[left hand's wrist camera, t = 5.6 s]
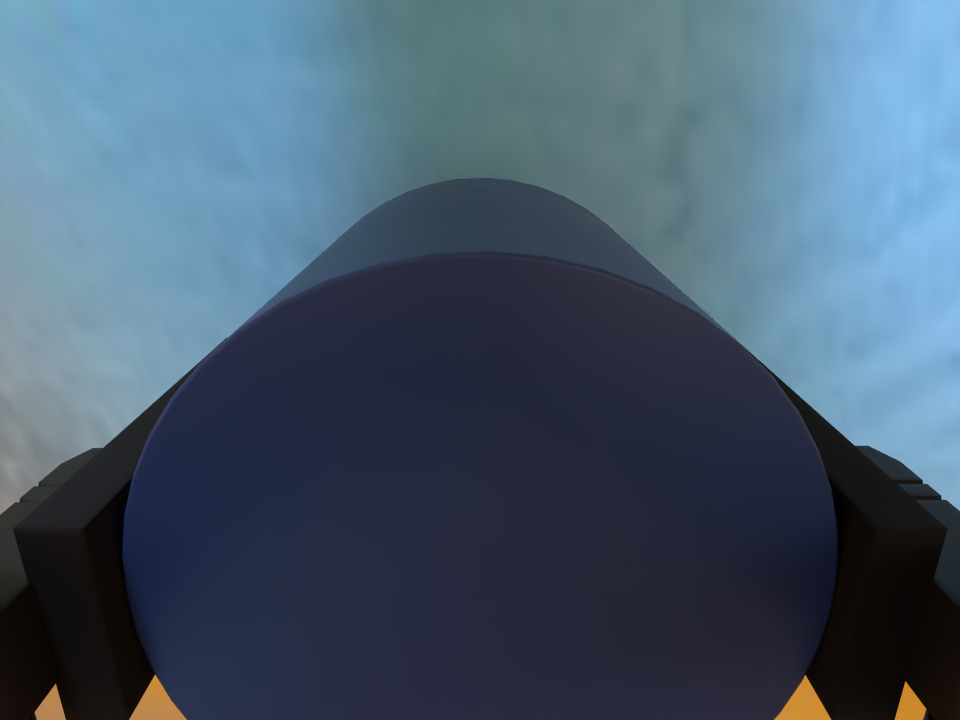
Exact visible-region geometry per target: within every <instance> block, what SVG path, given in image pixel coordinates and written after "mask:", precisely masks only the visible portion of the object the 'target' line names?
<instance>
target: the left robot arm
mask: <svg viewBox="0 0 960 720" xmlns="http://www.w3.org/2000/svg"><path fill="white" fill-rule="evenodd" d="M226 339H227V338H226ZM226 339H225V340H226ZM225 340H224V341H225ZM224 341H223V342H224ZM223 342H222V343H223ZM222 343H220V344H222ZM220 344H219V345H220ZM219 345H218V346H219ZM218 346H217V347H218ZM217 347H216V348H217ZM216 348H215V349H216ZM744 348H745V347H744ZM215 349H214V350H215ZM745 349H746V348H745ZM214 350H213V351H214ZM746 350H747V349H746ZM213 351H211V352H210V353H212V352H213ZM747 351H748V350H747ZM748 352H749V351H748ZM210 353H209V354H210ZM749 353H750V352H749ZM209 354H208V355H209ZM750 354H751V353H750ZM208 355H207V356H208ZM751 355H752V354H751ZM207 356H206V357H207ZM752 356H753V357H754V358H755V359H756V360H757V361H758V362H759V363H760V364H761V365H762V366H763V367H764V368H765V369H766V370H767V371H768V372H769V373H770V374H771V375H772V376H773V378H774V379H775V380H776V382H777V383H778V384H779V386H780V387H781V388H782V390H783V391H784V393H785V394H786V395H787V397H788V398H789V399H790V401H791V402H792V403H793V405H794V406H795V408H796V409H797V410H798V412H799V413H800V415H801V417H802V419H803V421H804V423H805V425H806V427H807V429H808V431H809V433H810V435H811V437H812V439H813V441H814V442H815V444H816V446H817V448H818V450H819V453H820V456H821V459H822V462H823V465H824V468H825V471H826V474H827V478H828V481H829V484H830V487H831V490H832V495H833V502H834V509H835V515H836V522H837V528H838V574H837V580H836V585H835V591H834V597H833V603H832V609H831V613H830V616H829V619H828V622H827V625H826V628H825V631H824V634H823V637H822V640H821V643H820V646H819V648H818V650H817V652H816V654H815V656H814V658H813V660H812V662H811V664H810V666H809V668H808V670H807V672H806V674H805V675H806V676H807V678H808V680H809V681H810V683H811V685H812V687H813V688H814V690H815V692H816V694H817V695H818V697H819V699H820V701H821V702H822V704H823V706H824V707H825V709H826V711H827V713H828V714H829V716H830V718H831V720H895V716H896V712H897V709H898V705H899V702H900V698H901V695H902V691H903V687H904V684H905V681H906V682H907V683H908V685H909V686H910V687H911V689H912V690H913V691H914V693H915V694H916V695H917V697H918V698H919V699H920V701H921V702H922V703H923V705H924V706H925V708H926V712H925V716H924V719H923V720H960V511H959V510H958V509H956V508H955V507H954V506H953V505H952V504H950V503H949V502H948V501H947V500H942V499H941V495H940V494H938V493H937V492H936V491H935V490H934V489H932V488H931V487H930V486H929V485H928V484H923V482H922V481H923V480H922V479H920V478H919V477H918V476H917V475H916V474H914V473H913V472H912V471H911V470H910V469H908V468H907V467H906V466H905V465H904V464H902V463H901V462H900V461H898V460H896V459H894V458H892V457H890V456H888V455H886V454H884V453H882V452H880V451H878V450H876V449H873V448H871V447H869V446H854V445H853V444H852V443H851V442H850V441H849V440H848V439H847V438H845V437H844V436H843V435H842V434H841V433H840V432H839V431H838V430H836V429H835V428H834V427H833V426H832V425H831V424H830V423H829V422H827V421H826V420H825V419H824V418H823V417H822V416H821V415H820V414H819V413H817V412H816V411H815V410H814V409H813V408H812V407H811V406H810V405H808V404H807V403H806V402H805V401H804V400H803V399H802V398H801V397H799V396H798V395H797V394H796V393H795V392H794V391H793V390H792V389H790V388H789V387H788V386H787V385H786V384H785V383H784V382H783V381H782V380H780V379H779V378H778V377H777V376H776V375H775V374H774V373H773V372H771V371H770V370H769V369H768V368H767V367H766V366H765V365H764V364H762V363H761V362H760V361H759V360H758V359H757V358H756V357H755V356H754V355H752ZM206 357H205V358H206ZM205 358H204V359H205ZM204 359H202V360H201V361H200V362H199V363H198V364H197V365H196V366H195V367H194V368H192V369H191V370H190V371H189V372H188V373H187V374H186V375H185V376H183V377H182V378H181V379H180V380H179V381H178V382H177V383H176V384H174V385H173V386H172V387H171V388H170V389H169V390H168V391H167V392H166V393H164V394H163V395H162V396H161V397H160V398H159V399H158V400H157V401H155V402H154V403H153V404H152V405H151V406H150V407H149V408H148V409H146V410H145V411H144V412H143V413H142V414H141V415H140V416H139V417H138V418H136V419H135V420H134V421H133V422H132V423H131V424H130V425H129V426H127V427H126V428H125V429H124V430H123V431H122V432H121V433H120V434H118V435H117V436H116V437H115V438H114V439H113V440H112V441H111V442H110V443H108V444H107V445H106V446H105V447H104V448H92V449H90V450H88V451H86V452H84V453H82V454H80V455H78V456H76V457H74V458H72V459H70V460H68V461H66V462H64V463H62V464H60V465H59V466H58V467H57V468H56V469H54V470H53V471H52V472H51V473H50V474H49V475H47V476H46V477H45V478H44V479H43V480H41V481H40V482H39V486H38V487H33V488H32V489H31V490H29V491H28V492H27V493H26V494H25V495H24V496H22V497H21V498H20V502H19V503H14V504H13V505H12V506H10V507H9V508H8V509H7V510H6V511H4V512H3V513H2V514H1V515H0V720H37V719H36V716H35V711H36V709H37V708H38V707H39V705H40V704H41V703H42V701H43V700H44V698H45V697H46V696H47V695H48V693H49V692H50V690H51V689H52V688H53V686H54V685H55V684H56V685H57V689H58V693H59V696H60V700H61V703H62V707H63V711H64V714H65V718H66V720H129V719H130V717H131V715H132V713H133V712H134V710H135V708H136V707H137V705H138V703H139V701H140V700H141V698H142V696H143V694H144V693H145V691H146V689H147V687H148V686H149V684H150V682H151V681H152V679H153V677H154V675H155V673H154V671H153V670H152V668H151V666H150V663H149V661H148V659H147V657H146V654H145V652H144V650H143V647H142V645H141V643H140V640H139V638H138V636H137V633H136V630H135V626H134V623H133V619H132V615H131V612H130V608H129V604H128V600H127V597H126V589H125V579H124V570H123V561H122V550H123V531H124V515H125V510H126V506H127V501H128V497H129V492H130V487H131V483H132V478H133V474H134V472H135V469H136V467H137V464H138V462H139V459H140V457H141V454H142V452H143V449H144V447H145V444H146V442H147V439H148V436H149V434H150V433H151V431H152V429H153V428H154V426H155V424H156V423H157V421H158V419H159V418H160V416H161V414H162V413H163V411H164V409H165V408H166V406H167V404H168V403H169V401H170V399H171V398H172V396H173V395H174V394H175V393H176V392H177V390H178V389H179V388H180V387H181V386H182V384H183V383H184V382H185V381H186V380H187V378H188V377H189V376H190V375H191V374H192V372H193V371H194V370H195V369H196V368H197V366H198V365H199V364H200V363H201V362H202V361H203V360H204Z"/></svg>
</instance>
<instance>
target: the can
mask: <svg viewBox="0 0 960 720" xmlns="http://www.w3.org/2000/svg"><path fill="white" fill-rule="evenodd" d="M122 561H123V570H124V579H125V589H126V597H127V600H128V604H129V608H130V612H131V615H132V619H133V623H134V626H135V630H136V633H137V636H138V638H139V640H140V643H141V645H142V647H143V650H144V652H145V654H146V657H147V659H148V661H149V663H150V666H151V668H152V670H153V671H154V673H155V675H156V676H157V678H158V679H159V681H160V683H161V684H162V686H163V688H164V689H165V691H166V692H167V694H168V696H169V697H170V699H171V701H172V702H173V703H174V704H175V705H176V707H177V708H178V709H179V710H180V712H181V713H182V714H183V715H184V717H185V718H186V719H187V720H774V719H775V718H776V717H777V716H778V715H779V713H780V712H781V711H782V709H783V708H784V706H785V705H786V704H787V702H788V701H789V699H790V698H791V696H792V695H793V693H794V692H795V690H796V689H797V688H798V686H799V685H800V683H801V682H802V680H803V678H804V676H805V674H806V672H807V670H808V668H809V666H810V664H811V662H812V660H813V658H814V656H815V654H816V652H817V650H818V648H819V646H820V643H821V640H822V637H823V634H824V631H825V628H826V625H827V622H828V619H829V616H830V613H831V609H832V603H833V597H834V591H835V585H836V580H837V574H838V528H837V522H836V515H835V509H834V502H833V495H832V490H831V487H830V484H829V481H828V478H827V474H826V471H825V468H824V465H823V462H822V459H821V456H820V453H819V450H818V448H817V446H816V444H815V442H814V441H813V439H812V437H811V435H810V433H809V431H808V429H807V427H806V425H805V423H804V421H803V419H802V417H801V415H800V413H799V412H798V410H797V409H796V408H795V406H794V405H793V403H792V402H791V401H790V399H789V398H788V397H787V395H786V394H785V393H784V391H783V390H782V388H781V387H780V386H779V384H778V383H777V382H776V380H775V379H774V378H773V376H772V375H771V374H770V373H769V372H768V371H767V370H766V369H765V368H764V367H763V366H762V365H761V364H760V363H759V362H758V361H757V360H756V359H755V358H754V357H753V356H752V355H751V354H750V353H749V352H748V351H747V350H746V349H745V348H744V347H743V346H742V345H741V344H740V343H739V342H738V341H737V340H736V339H735V338H733V337H732V336H731V335H730V334H729V333H728V332H727V331H726V330H724V329H723V328H722V327H721V326H720V325H719V324H718V323H717V322H715V321H714V320H713V319H712V318H711V317H710V316H709V315H708V314H707V313H705V312H704V311H703V310H702V309H701V308H700V307H699V306H698V305H696V304H695V303H694V302H693V301H692V300H691V299H690V298H689V297H687V296H686V295H685V294H684V293H683V292H682V291H681V290H680V289H679V288H677V287H676V286H675V285H674V284H673V283H672V282H671V281H670V280H668V279H667V278H666V277H665V276H664V275H663V274H662V273H661V272H659V271H658V270H657V269H656V268H655V267H654V266H653V265H652V264H650V263H649V262H648V261H647V260H646V259H645V258H644V257H643V256H642V255H640V254H639V253H638V252H637V251H636V250H635V249H634V248H633V247H631V246H630V245H629V244H628V243H627V242H626V241H625V240H624V239H622V238H621V237H620V236H619V235H618V234H617V233H616V232H615V231H614V230H612V229H611V228H610V227H609V226H608V225H607V224H606V223H604V222H603V221H602V220H600V219H599V218H598V217H596V216H595V215H594V214H592V213H591V212H589V211H588V210H587V209H585V208H584V207H582V206H580V205H578V204H576V203H574V202H573V201H571V200H569V199H567V198H565V197H564V196H561V195H559V194H556V193H553V192H551V191H548V190H546V189H543V188H540V187H538V186H533V185H529V184H525V183H520V182H516V181H511V180H501V179H490V178H474V179H457V180H451V181H446V182H440V183H434V184H430V185H427V186H424V187H421V188H418V189H415V190H412V191H409V192H406V193H404V194H402V195H400V196H398V197H396V198H394V199H392V200H390V201H387V202H385V203H383V204H382V205H380V206H379V207H377V208H376V209H374V210H373V211H371V212H370V213H368V214H367V215H365V216H364V217H362V218H361V219H360V220H359V221H358V222H357V223H356V224H354V225H353V226H352V227H351V228H350V229H349V230H348V231H346V232H345V233H344V234H343V235H342V236H341V237H340V238H339V239H338V240H336V241H335V242H334V243H333V244H332V245H331V246H330V247H329V248H327V249H326V250H325V251H324V252H323V253H322V254H321V255H320V256H319V257H317V258H316V259H315V260H314V261H313V262H312V263H311V264H310V265H309V266H307V267H306V268H305V269H304V270H303V271H302V272H301V273H300V274H298V275H297V276H296V277H295V278H294V279H293V280H292V281H291V282H290V283H288V284H287V285H286V286H285V287H284V288H283V289H282V290H281V291H280V292H278V293H277V294H276V295H275V296H274V297H273V298H272V299H271V300H270V301H268V302H267V303H266V304H265V305H264V306H263V307H262V308H261V309H259V310H258V311H257V312H256V313H255V314H254V315H253V316H252V317H251V318H249V319H248V320H247V321H246V322H245V323H244V324H243V325H242V326H241V327H239V328H238V329H237V330H236V331H235V332H234V333H233V334H232V335H230V336H229V337H228V338H227V339H226V340H225V341H224V342H223V343H222V344H220V345H219V346H218V347H217V348H216V349H215V350H214V351H213V352H212V353H210V354H209V355H208V356H207V357H206V358H205V359H204V360H203V361H202V362H201V363H200V364H199V365H198V366H197V368H196V369H195V370H194V371H193V372H192V374H191V375H190V376H189V377H188V378H187V380H186V381H185V382H184V383H183V384H182V386H181V387H180V388H179V389H178V390H177V392H176V393H175V394H174V395H173V396H172V398H171V399H170V401H169V403H168V404H167V406H166V408H165V409H164V411H163V413H162V414H161V416H160V418H159V419H158V421H157V423H156V424H155V426H154V428H153V429H152V431H151V433H150V434H149V436H148V439H147V442H146V444H145V447H144V449H143V452H142V454H141V457H140V459H139V462H138V464H137V467H136V469H135V472H134V474H133V478H132V483H131V487H130V492H129V497H128V501H127V506H126V510H125V515H124V531H123V550H122Z"/></svg>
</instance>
